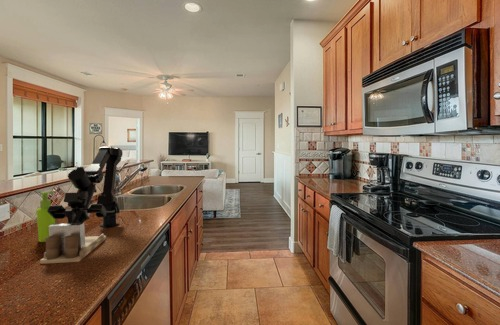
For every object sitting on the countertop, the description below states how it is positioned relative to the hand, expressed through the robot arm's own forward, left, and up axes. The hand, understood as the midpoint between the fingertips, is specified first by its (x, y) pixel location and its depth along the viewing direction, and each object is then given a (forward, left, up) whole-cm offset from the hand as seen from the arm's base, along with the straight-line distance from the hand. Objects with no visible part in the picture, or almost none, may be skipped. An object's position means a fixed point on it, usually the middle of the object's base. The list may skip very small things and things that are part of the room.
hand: (70, 231), depth 93 cm
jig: (-3, +3, -8) cm, 9 cm away
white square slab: (+1, -1, -7) cm, 7 cm away
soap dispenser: (-25, +2, -8) cm, 26 cm away
